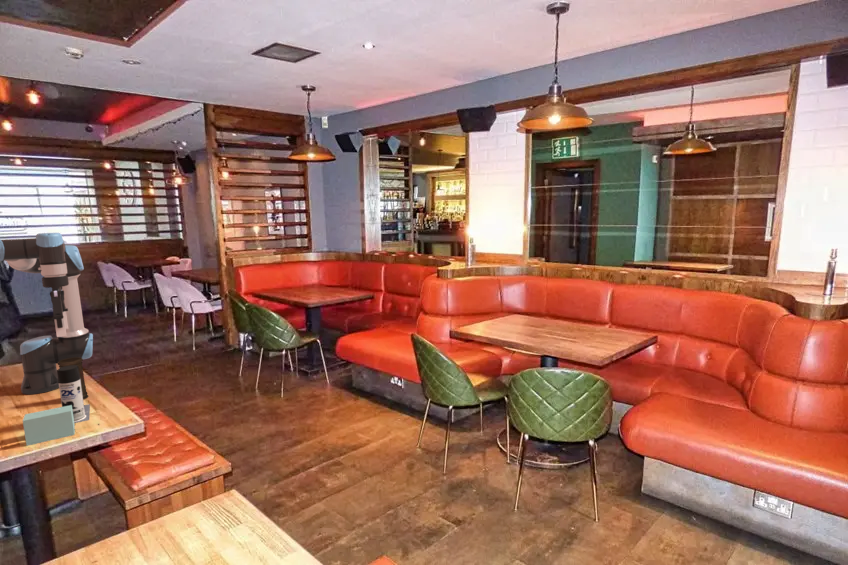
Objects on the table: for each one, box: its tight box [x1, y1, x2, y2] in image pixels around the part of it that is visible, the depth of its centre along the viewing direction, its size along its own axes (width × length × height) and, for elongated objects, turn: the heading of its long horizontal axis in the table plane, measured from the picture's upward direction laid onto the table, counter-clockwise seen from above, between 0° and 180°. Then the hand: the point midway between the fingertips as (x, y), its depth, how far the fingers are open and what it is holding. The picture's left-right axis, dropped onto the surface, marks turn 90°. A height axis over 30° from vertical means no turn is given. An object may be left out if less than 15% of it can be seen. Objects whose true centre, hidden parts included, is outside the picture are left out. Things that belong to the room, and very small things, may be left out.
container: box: [57, 357, 89, 401], centre depth 199 cm, size 9×9×18 cm
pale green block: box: [22, 405, 76, 447], centre depth 167 cm, size 7×13×9 cm, turn 124°
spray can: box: [57, 365, 85, 421], centre depth 179 cm, size 7×7×20 cm
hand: (62, 332), depth 175 cm, fingers open, 13 cm apart
